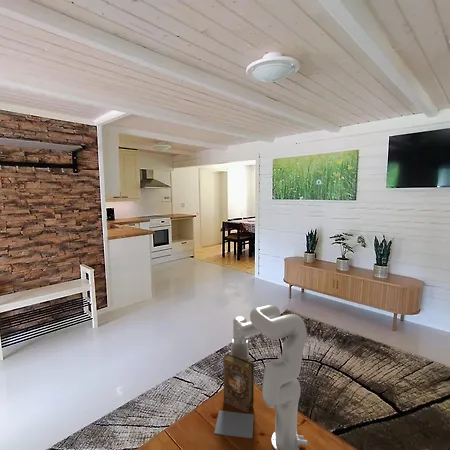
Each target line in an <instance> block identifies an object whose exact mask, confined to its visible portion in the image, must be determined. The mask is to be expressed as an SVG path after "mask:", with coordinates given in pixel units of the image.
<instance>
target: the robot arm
mask: <svg viewBox="0 0 450 450" xmlns="http://www.w3.org/2000/svg"><path fill="white" fill-rule="evenodd" d="M249 313H250V314H249V320H250V321H247V318H246V317H245V316H241V315H240V316H239V315H237V316H235V317H234V318H233V319H232V321H233V324H232V325H233V329H232V332H233V333H232V340H231V346H230V355H233V356H236V357H239V358H241V359H244V360H247V361H250V357H249V354H250V348H249V347H250V346H249V340H250V338H251V337H254V336H257V335H260V334H262V335H263V336H265V337H266V338H267V339H269V340H271V341H277V340H279V339H282V338H283V339H284V338H286V337H287V339H286V340H285V341H284V343H283V345H282V351H281V355H280V357H278V358H277V359H274V360H271V361H269V362H268V363H267V364H266V365H265V367H264V370H263V378H262V385H261V386H262V388H261V396H262V399H263V402H264V404H265V406H267V407H268V408H270V409H275V416H274V417H275V418H274V419H275V420H274V421H275V422H274V423H275V425H274V426H275V427H274V432H273V434H272V436H271V439H270V440H271V445H272V447H273V449H274V450H300V448H301V445H304V446H308V439H305V438H304V435H302V434H301V435H300V434H298V408H299V407H298V406H299V401H300V396H301V385H300V382H299V380H298V379H297V378H299V375H300V373H301V368H302V361H303V354H304V349H305V345H306V342H307V335H308V333H307V327H306V324H305V322H304V320H303V318H302V317H301V316H300V315H298V314H295V313H289V314H284V315H281V310H280V308H279V307H278V306H276V305H274V304H266V305H263V306H257V307H255V308H253V309H252V310H251V312H249Z"/></svg>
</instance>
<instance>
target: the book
mask: <svg viewBox="0 0 450 450" xmlns="http://www.w3.org/2000/svg"><path fill="white" fill-rule="evenodd" d="M254 368H255V364H254V362H252V361H250V360H249V361H247V360H244V359H241V358H239V357H236V356H233V355H231V353H229V354H225V355H224V356H223V403H225V404H227V405H230V406H232V407H233V408H236V409H238V410H240V411H242V412H245V413H246V414H249V412H250V408H251V407H254V404H255V403H254V402H255V399H254V398H255V397H254V395H255V391H254V390H255V388H254V387H255V383H254V382H255V380H254V379H255V369H254Z"/></svg>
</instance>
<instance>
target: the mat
mask: <svg viewBox="0 0 450 450" xmlns="http://www.w3.org/2000/svg"><path fill="white" fill-rule="evenodd" d="M254 417H255V415H254V413H253V414H252V413H247V412H245V413H243V412H235V411H228V410H227V411H226V410H220V409H219V410H218V415H217V420H216V424H215V429H214V433H213V434H214V435H219V436H220V435H221V436H229V437H237V438H244V439H253V434H254V433H253V432H254V420H255V419H254Z"/></svg>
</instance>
